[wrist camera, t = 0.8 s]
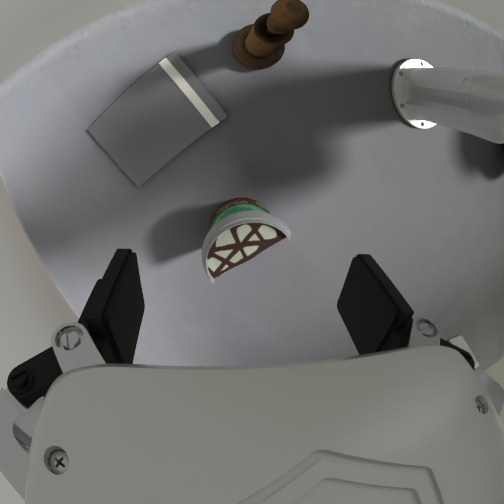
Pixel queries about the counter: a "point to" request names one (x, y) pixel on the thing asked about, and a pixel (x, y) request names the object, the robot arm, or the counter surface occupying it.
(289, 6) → the brown wooden turned post
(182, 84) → the mat
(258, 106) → the counter surface
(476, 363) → the skincare box
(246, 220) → the food container
